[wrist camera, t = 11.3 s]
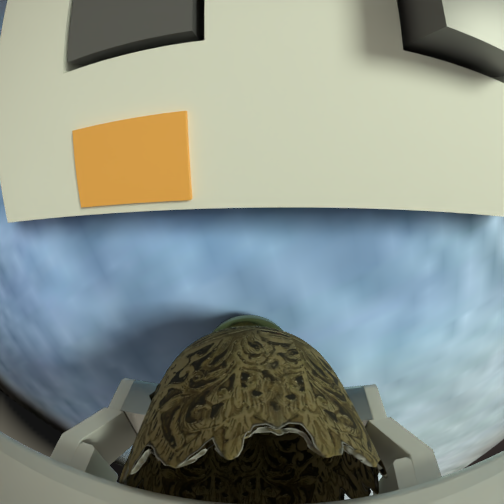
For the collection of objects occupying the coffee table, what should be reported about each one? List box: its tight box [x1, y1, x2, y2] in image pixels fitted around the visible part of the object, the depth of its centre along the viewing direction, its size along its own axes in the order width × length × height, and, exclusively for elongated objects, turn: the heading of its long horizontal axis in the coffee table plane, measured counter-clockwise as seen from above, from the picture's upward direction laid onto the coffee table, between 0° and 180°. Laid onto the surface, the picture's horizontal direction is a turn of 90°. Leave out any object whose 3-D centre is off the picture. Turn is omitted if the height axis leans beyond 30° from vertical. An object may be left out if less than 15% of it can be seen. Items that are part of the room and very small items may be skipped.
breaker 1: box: [67, 0, 205, 66], centre depth 7 cm, size 4×4×3 cm
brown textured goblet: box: [119, 315, 387, 504], centre depth 9 cm, size 8×7×8 cm
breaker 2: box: [397, 0, 504, 78], centre depth 5 cm, size 4×4×3 cm
